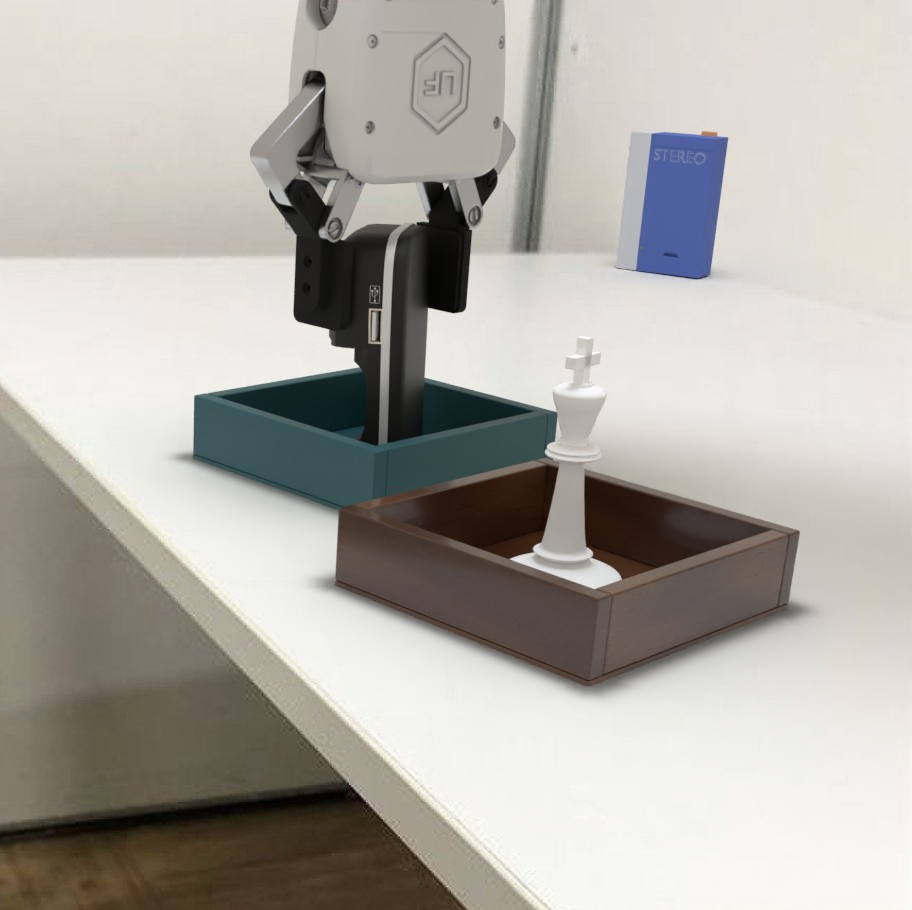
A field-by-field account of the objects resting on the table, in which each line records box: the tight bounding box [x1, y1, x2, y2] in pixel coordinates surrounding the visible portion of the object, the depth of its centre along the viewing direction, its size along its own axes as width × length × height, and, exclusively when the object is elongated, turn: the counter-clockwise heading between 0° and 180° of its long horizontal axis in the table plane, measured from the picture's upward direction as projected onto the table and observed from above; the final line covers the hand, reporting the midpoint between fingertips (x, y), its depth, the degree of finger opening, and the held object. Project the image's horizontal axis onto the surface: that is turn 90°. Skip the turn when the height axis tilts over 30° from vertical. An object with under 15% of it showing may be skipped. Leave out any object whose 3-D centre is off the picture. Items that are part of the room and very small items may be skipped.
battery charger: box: [328, 222, 430, 446], centre depth 78 cm, size 7×4×11 cm, turn 166°
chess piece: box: [510, 335, 622, 589], centre depth 62 cm, size 5×5×10 cm
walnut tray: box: [334, 458, 801, 687], centre depth 63 cm, size 13×13×4 cm
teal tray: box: [192, 366, 558, 511], centre depth 79 cm, size 13×13×4 cm
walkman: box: [615, 129, 729, 279], centre depth 141 cm, size 8×3×12 cm, turn 53°
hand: (381, 314), depth 77 cm, fingers closed on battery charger, 7 cm apart
